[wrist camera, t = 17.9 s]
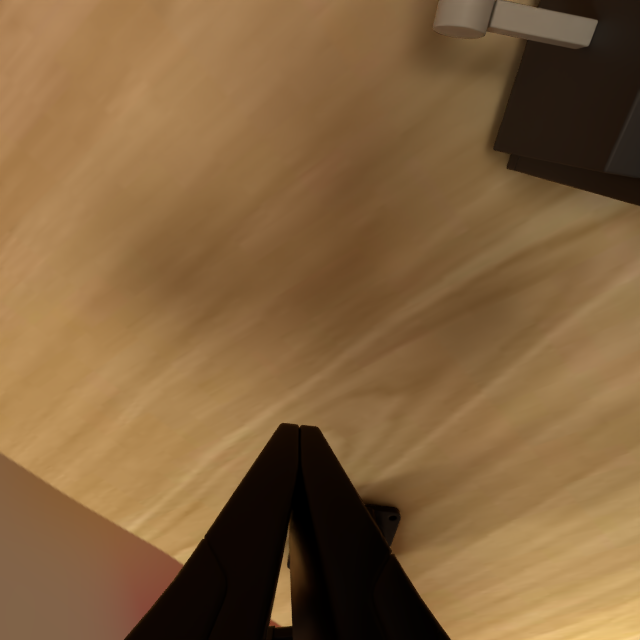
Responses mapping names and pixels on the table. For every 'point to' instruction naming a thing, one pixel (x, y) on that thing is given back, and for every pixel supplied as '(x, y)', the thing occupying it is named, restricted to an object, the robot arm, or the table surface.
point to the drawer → (565, 78)
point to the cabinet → (580, 178)
